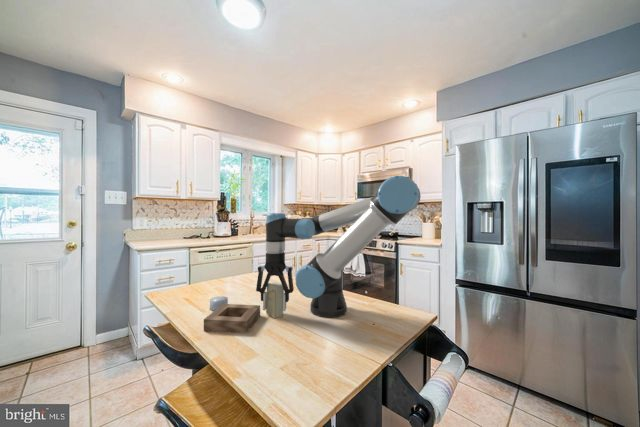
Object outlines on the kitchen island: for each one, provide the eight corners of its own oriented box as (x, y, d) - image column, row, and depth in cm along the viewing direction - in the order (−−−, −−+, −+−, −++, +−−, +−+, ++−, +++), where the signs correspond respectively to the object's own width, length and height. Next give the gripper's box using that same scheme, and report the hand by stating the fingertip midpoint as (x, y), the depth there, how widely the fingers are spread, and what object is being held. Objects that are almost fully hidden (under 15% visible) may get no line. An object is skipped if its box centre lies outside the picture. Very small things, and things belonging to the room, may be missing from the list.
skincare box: (265, 313, 106) (266, 283, 106) (275, 311, 109) (275, 281, 109) (274, 318, 101) (274, 287, 101) (284, 315, 104) (284, 284, 104)
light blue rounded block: (230, 305, 114) (230, 296, 114) (223, 312, 107) (223, 302, 107) (214, 305, 115) (214, 296, 115) (206, 311, 108) (206, 301, 108)
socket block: (260, 315, 104) (260, 305, 104) (246, 333, 89) (246, 321, 89) (223, 313, 105) (223, 303, 105) (203, 331, 90) (203, 319, 90)
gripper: (302, 251, 108) (301, 307, 108) (253, 249, 109) (253, 304, 110) (299, 254, 100) (298, 314, 100) (247, 252, 102) (246, 311, 102)
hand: (274, 309), depth 105 cm, fingers closed on skincare box, 7 cm apart
